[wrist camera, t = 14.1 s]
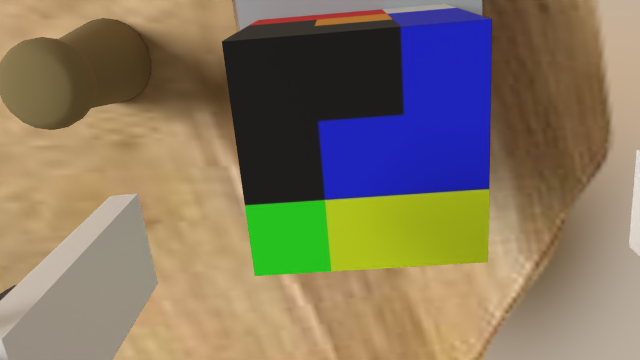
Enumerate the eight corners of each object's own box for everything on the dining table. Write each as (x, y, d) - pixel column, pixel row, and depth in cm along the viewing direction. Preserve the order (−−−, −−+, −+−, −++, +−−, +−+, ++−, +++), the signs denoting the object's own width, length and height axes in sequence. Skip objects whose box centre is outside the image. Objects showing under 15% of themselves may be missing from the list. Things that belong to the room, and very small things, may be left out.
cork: (92, 113, 43) (13, 157, 32) (53, 35, 41) (-45, 55, 31) (165, 86, 42) (106, 122, 32) (128, 5, 40) (54, 15, 30)
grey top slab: (469, 156, 38) (487, 182, 34) (278, 177, 39) (269, 205, 35) (461, -51, 34) (480, -55, 29) (246, -22, 35) (231, -21, 30)
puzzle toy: (444, 3, 30) (492, 18, 21) (446, 180, 34) (488, 262, 24) (257, 20, 31) (221, 41, 21) (278, 192, 34) (254, 275, 25)
